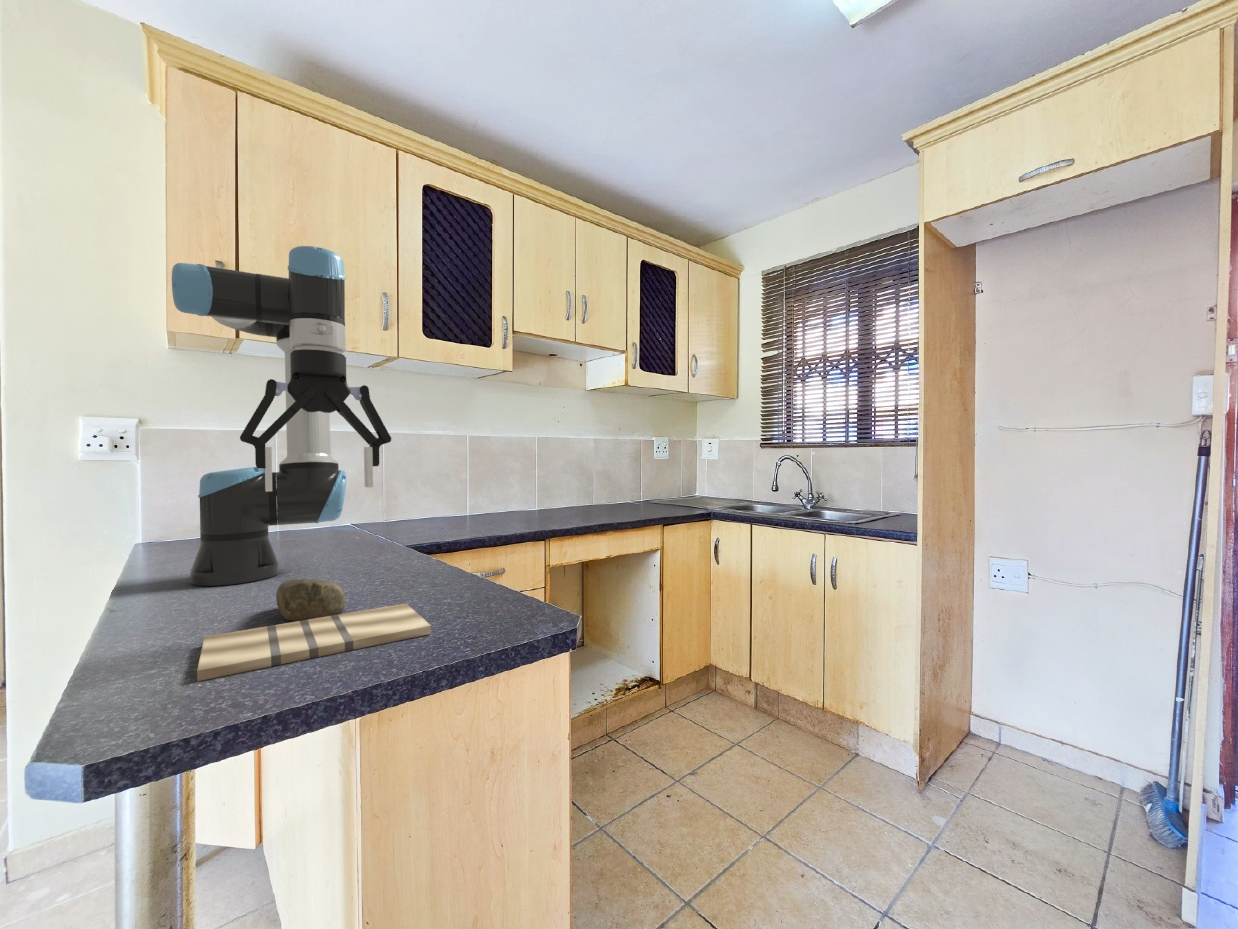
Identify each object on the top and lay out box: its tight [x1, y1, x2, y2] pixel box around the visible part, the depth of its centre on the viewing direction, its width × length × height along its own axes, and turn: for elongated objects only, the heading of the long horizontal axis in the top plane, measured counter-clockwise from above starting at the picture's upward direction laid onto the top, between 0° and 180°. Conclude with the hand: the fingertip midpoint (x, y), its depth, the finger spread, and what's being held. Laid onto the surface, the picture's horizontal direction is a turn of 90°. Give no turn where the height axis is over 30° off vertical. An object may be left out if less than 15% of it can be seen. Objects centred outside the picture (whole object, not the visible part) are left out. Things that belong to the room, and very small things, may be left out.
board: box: [196, 603, 432, 682], centre depth 73 cm, size 14×26×1 cm, turn 126°
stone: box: [275, 578, 346, 622], centre depth 85 cm, size 9×14×10 cm, turn 37°
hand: (321, 489), depth 81 cm, fingers open, 13 cm apart
